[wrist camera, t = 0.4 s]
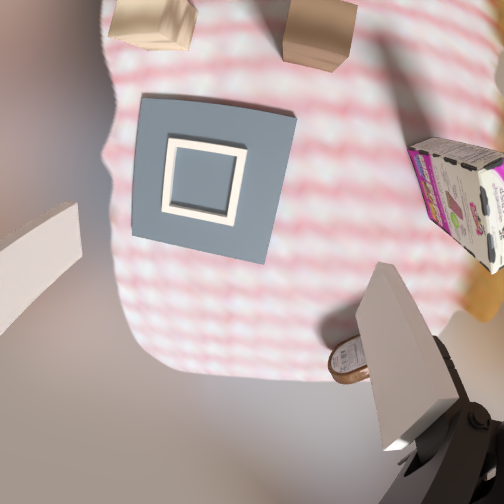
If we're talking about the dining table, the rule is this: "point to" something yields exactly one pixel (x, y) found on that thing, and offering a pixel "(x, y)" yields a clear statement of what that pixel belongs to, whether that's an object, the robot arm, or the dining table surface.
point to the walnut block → (319, 33)
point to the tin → (349, 362)
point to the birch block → (154, 24)
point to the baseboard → (210, 175)
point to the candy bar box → (464, 195)
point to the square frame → (209, 147)
